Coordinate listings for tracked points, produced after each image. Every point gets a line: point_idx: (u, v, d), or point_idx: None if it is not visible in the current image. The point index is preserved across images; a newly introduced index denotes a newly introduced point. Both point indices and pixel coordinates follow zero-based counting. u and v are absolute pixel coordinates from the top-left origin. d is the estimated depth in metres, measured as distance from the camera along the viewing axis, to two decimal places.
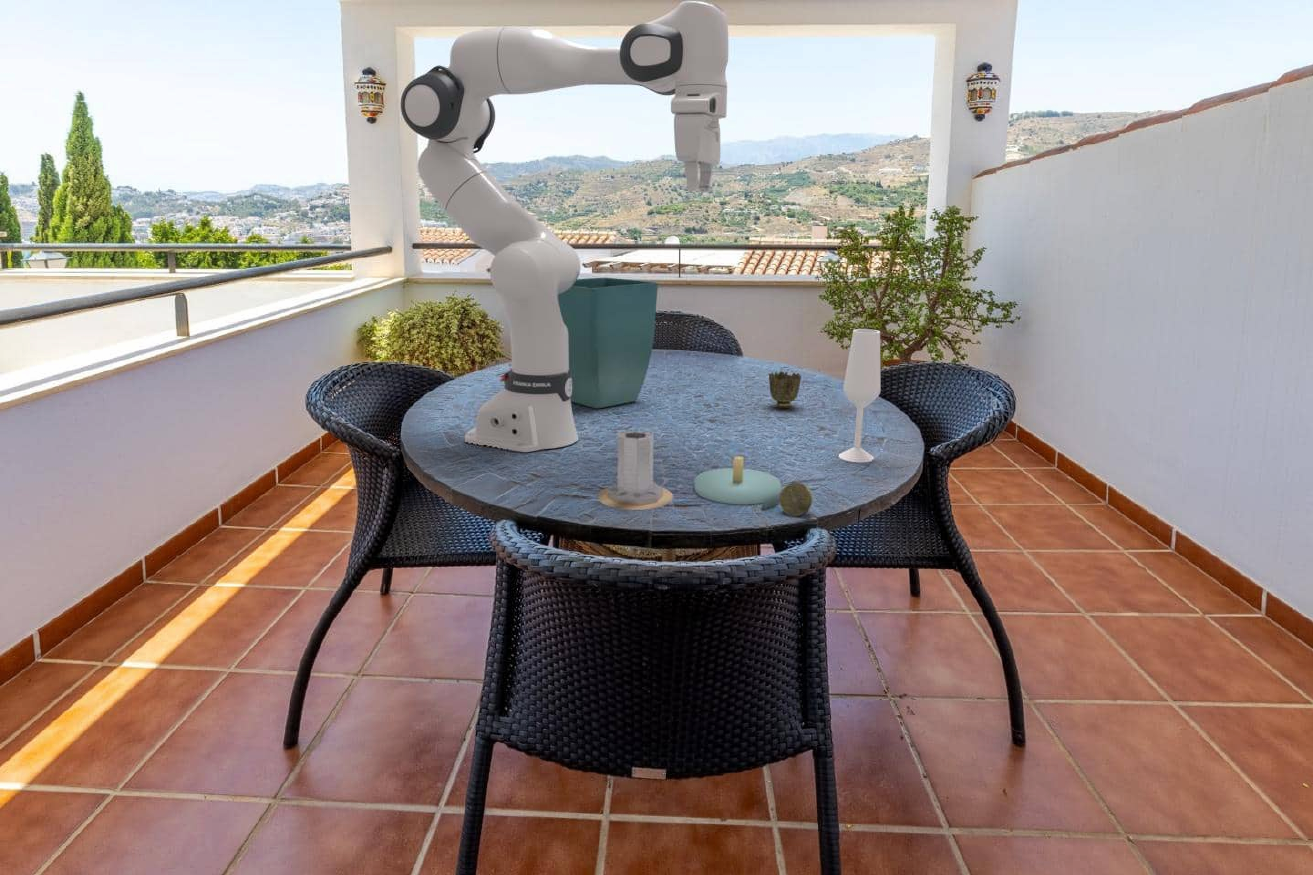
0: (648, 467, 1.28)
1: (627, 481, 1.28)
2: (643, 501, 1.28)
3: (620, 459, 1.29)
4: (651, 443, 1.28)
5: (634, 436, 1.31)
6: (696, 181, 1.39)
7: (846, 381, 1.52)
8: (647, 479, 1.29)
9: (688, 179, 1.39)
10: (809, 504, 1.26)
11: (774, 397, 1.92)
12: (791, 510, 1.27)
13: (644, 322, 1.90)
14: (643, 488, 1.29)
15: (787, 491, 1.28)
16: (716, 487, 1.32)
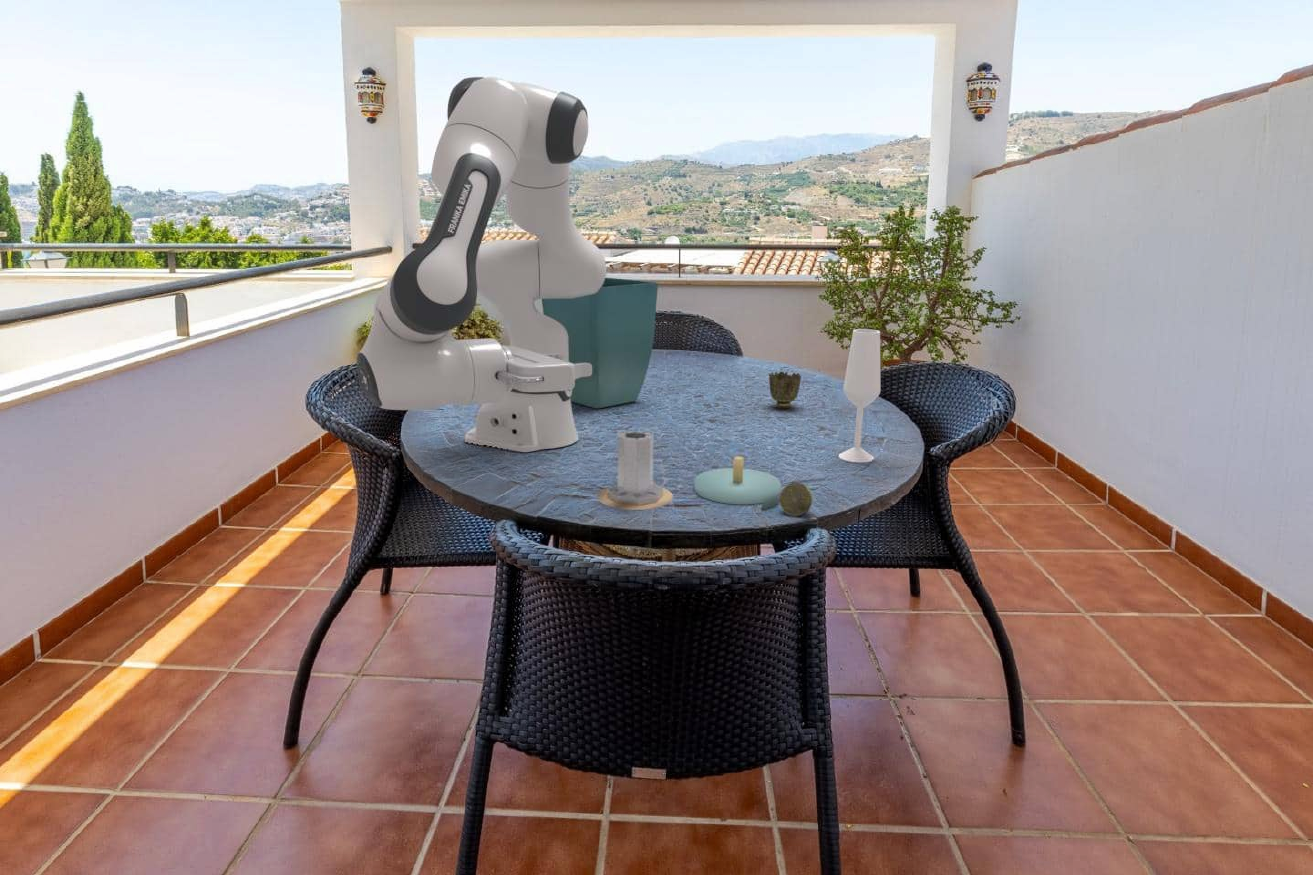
0: (648, 467, 1.28)
1: (627, 481, 1.28)
2: (643, 501, 1.28)
3: (620, 459, 1.29)
4: (651, 443, 1.28)
5: (634, 436, 1.31)
6: None
7: (846, 381, 1.52)
8: (647, 479, 1.29)
9: None
10: (809, 504, 1.26)
11: (774, 397, 1.92)
12: (791, 510, 1.27)
13: (644, 322, 1.90)
14: (643, 488, 1.29)
15: (787, 491, 1.28)
16: (716, 487, 1.32)
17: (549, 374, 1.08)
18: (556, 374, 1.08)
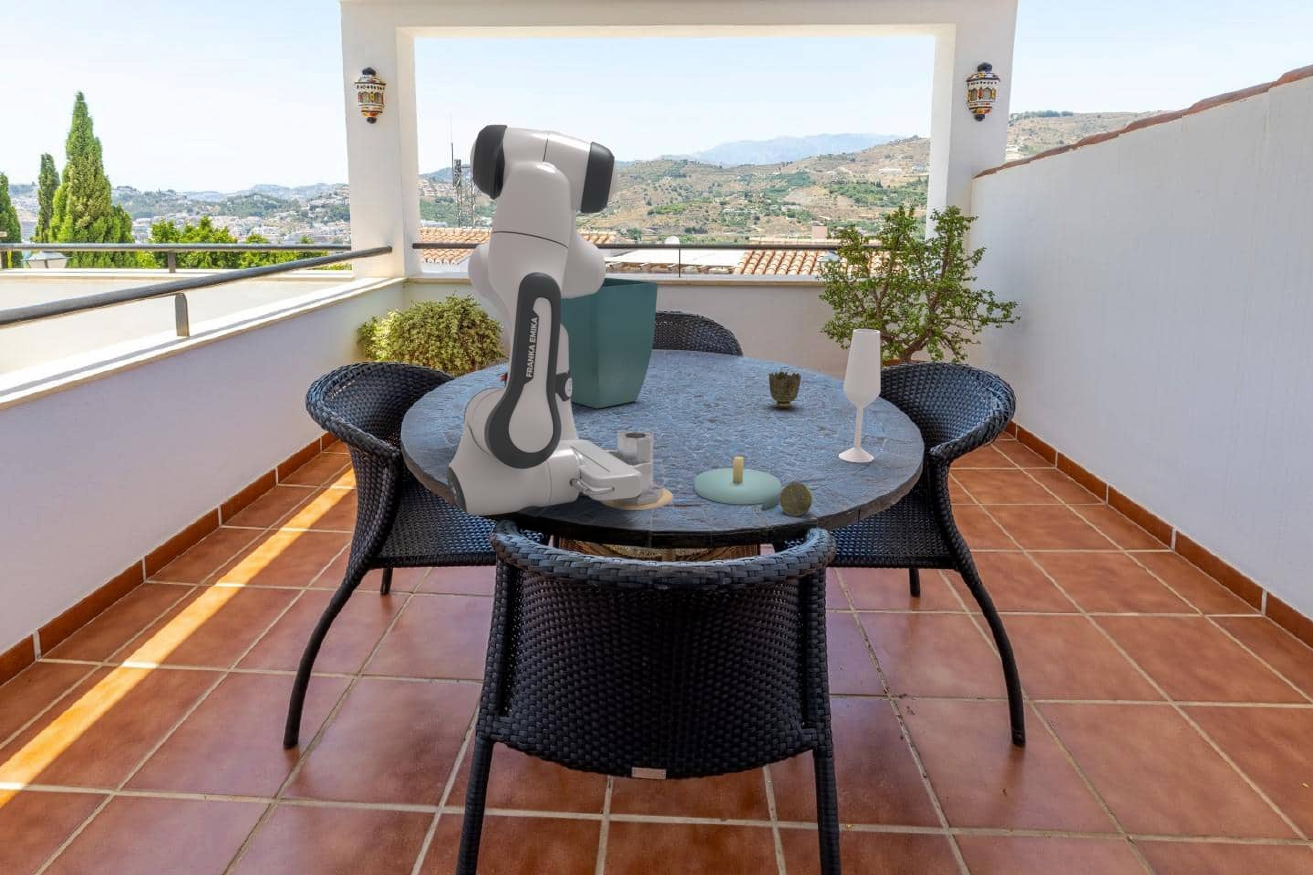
0: None
1: None
2: (643, 501, 1.28)
3: (620, 459, 1.29)
4: (651, 443, 1.28)
5: (634, 436, 1.31)
6: None
7: (846, 381, 1.52)
8: (647, 479, 1.29)
9: None
10: (809, 504, 1.26)
11: (774, 397, 1.92)
12: (791, 510, 1.27)
13: (644, 322, 1.90)
14: (643, 488, 1.29)
15: (787, 491, 1.28)
16: (716, 487, 1.32)
17: (618, 484, 1.18)
18: (625, 484, 1.18)
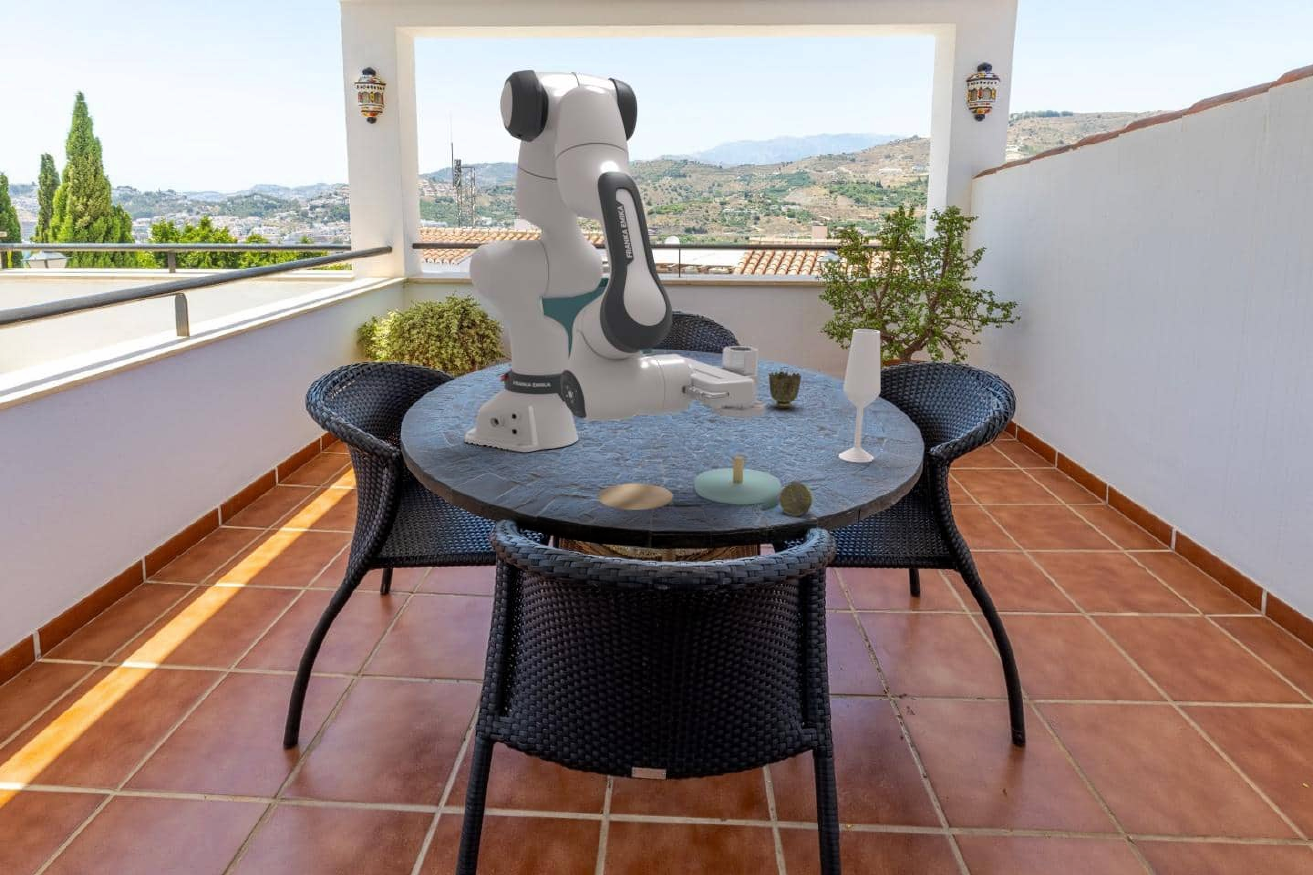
0: None
1: None
2: (749, 414, 1.27)
3: None
4: (756, 356, 1.28)
5: (737, 351, 1.30)
6: None
7: (846, 381, 1.52)
8: None
9: (720, 368, 1.33)
10: (809, 504, 1.26)
11: (774, 397, 1.92)
12: (791, 510, 1.27)
13: None
14: None
15: (787, 491, 1.28)
16: (716, 487, 1.32)
17: (733, 390, 1.18)
18: (739, 389, 1.18)
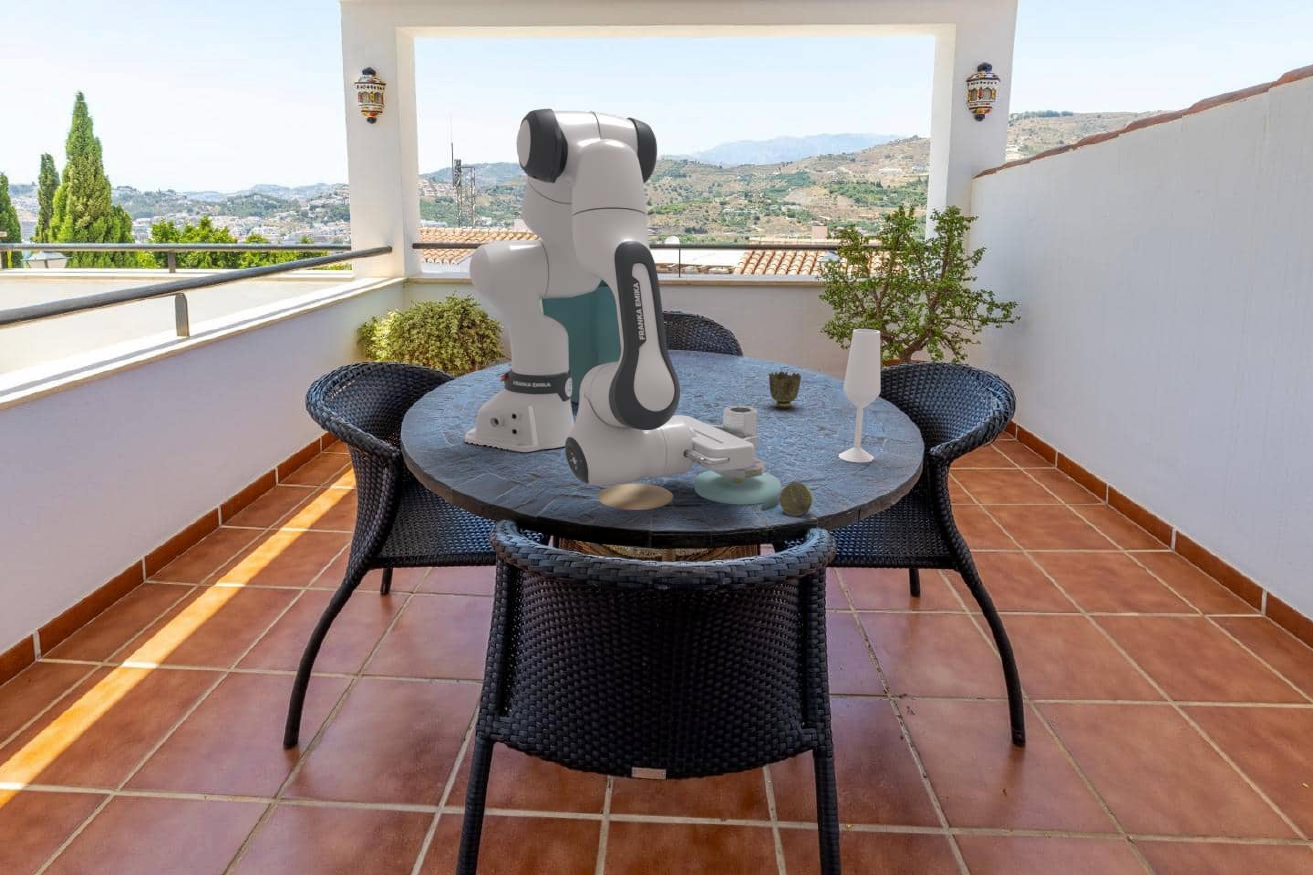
0: None
1: None
2: (749, 474, 1.30)
3: None
4: (756, 417, 1.31)
5: (737, 411, 1.33)
6: None
7: (846, 381, 1.52)
8: None
9: None
10: (809, 504, 1.26)
11: (774, 397, 1.92)
12: (791, 510, 1.27)
13: None
14: None
15: (787, 491, 1.28)
16: (716, 487, 1.32)
17: (733, 455, 1.21)
18: (739, 454, 1.21)
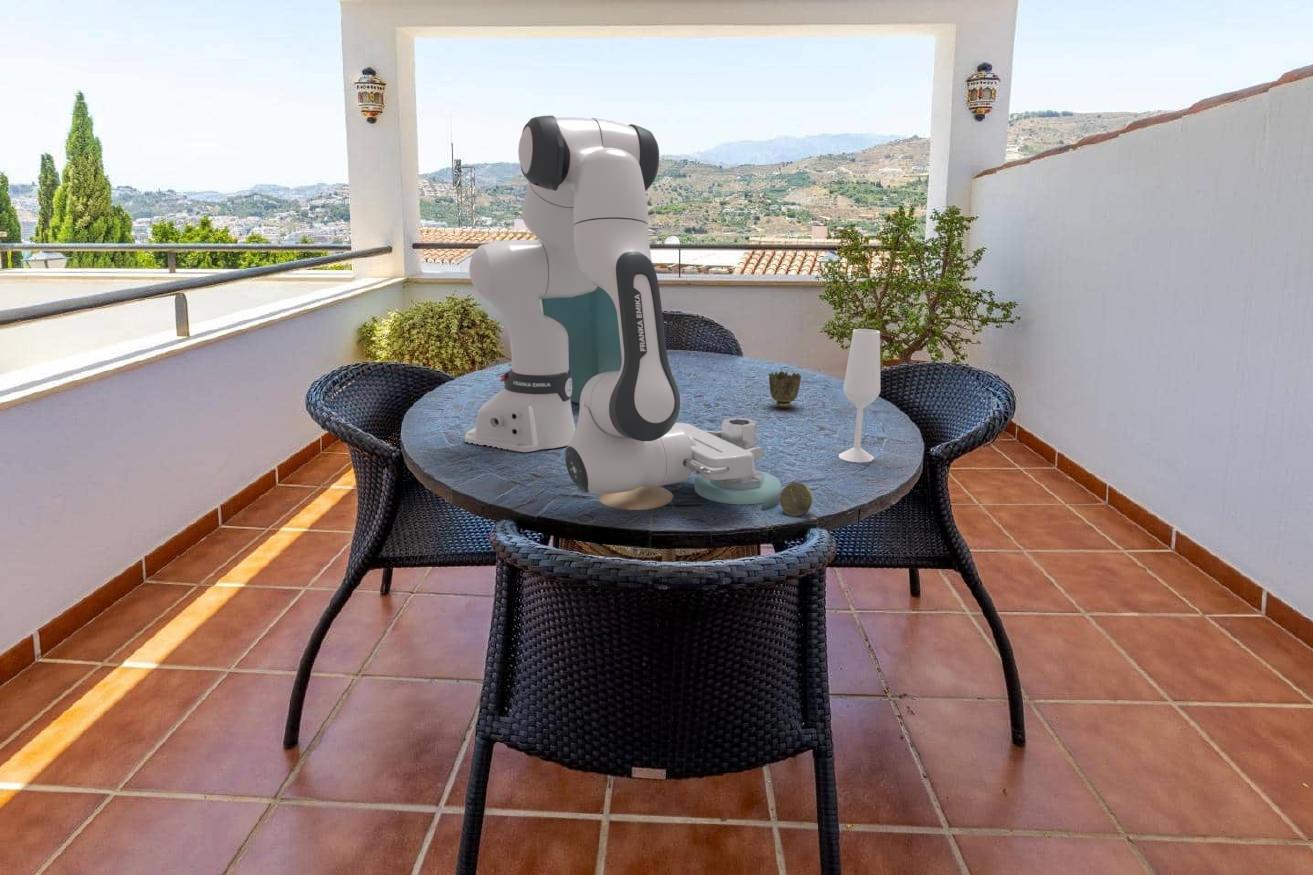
0: None
1: None
2: (747, 486, 1.31)
3: None
4: (755, 429, 1.31)
5: (736, 423, 1.34)
6: None
7: (846, 381, 1.52)
8: None
9: None
10: (809, 504, 1.26)
11: (774, 397, 1.92)
12: (791, 510, 1.27)
13: None
14: None
15: (787, 491, 1.28)
16: (716, 487, 1.32)
17: (733, 464, 1.21)
18: (738, 464, 1.21)
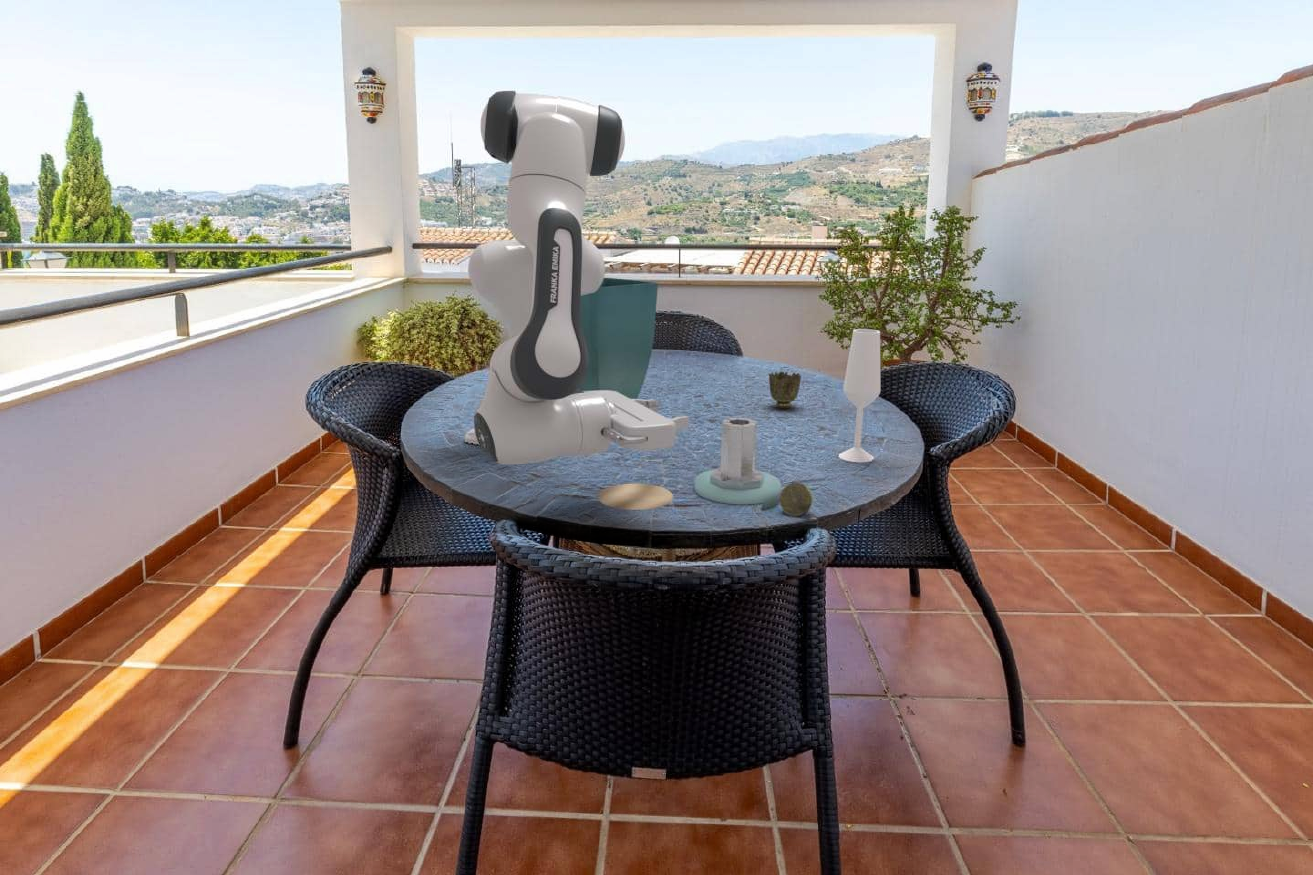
0: (752, 453, 1.32)
1: (731, 466, 1.32)
2: (747, 486, 1.31)
3: (724, 445, 1.32)
4: (755, 429, 1.31)
5: (736, 423, 1.34)
6: None
7: (846, 381, 1.52)
8: (750, 465, 1.32)
9: None
10: (809, 504, 1.26)
11: (774, 397, 1.92)
12: (791, 510, 1.27)
13: (644, 322, 1.90)
14: (746, 473, 1.32)
15: (787, 491, 1.28)
16: (716, 487, 1.32)
17: (652, 434, 1.14)
18: (658, 433, 1.14)
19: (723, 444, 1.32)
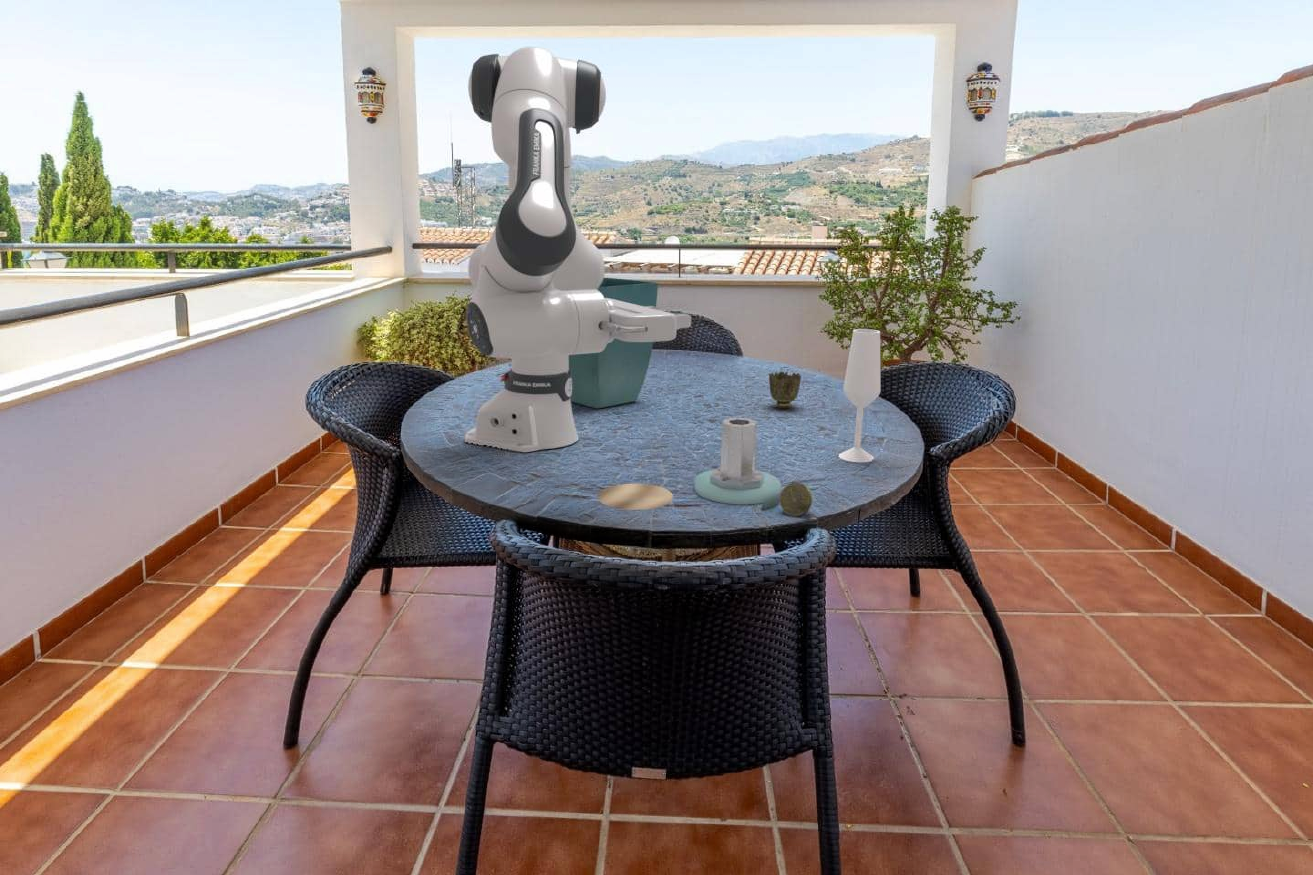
0: (752, 453, 1.32)
1: (731, 466, 1.32)
2: (747, 486, 1.31)
3: (724, 445, 1.32)
4: (755, 429, 1.31)
5: (736, 423, 1.34)
6: None
7: (846, 381, 1.52)
8: (750, 465, 1.32)
9: None
10: (809, 504, 1.26)
11: (774, 397, 1.92)
12: (791, 510, 1.27)
13: None
14: (746, 473, 1.32)
15: (787, 491, 1.28)
16: (716, 487, 1.32)
17: (652, 324, 1.09)
18: (659, 324, 1.10)
19: (723, 444, 1.32)
